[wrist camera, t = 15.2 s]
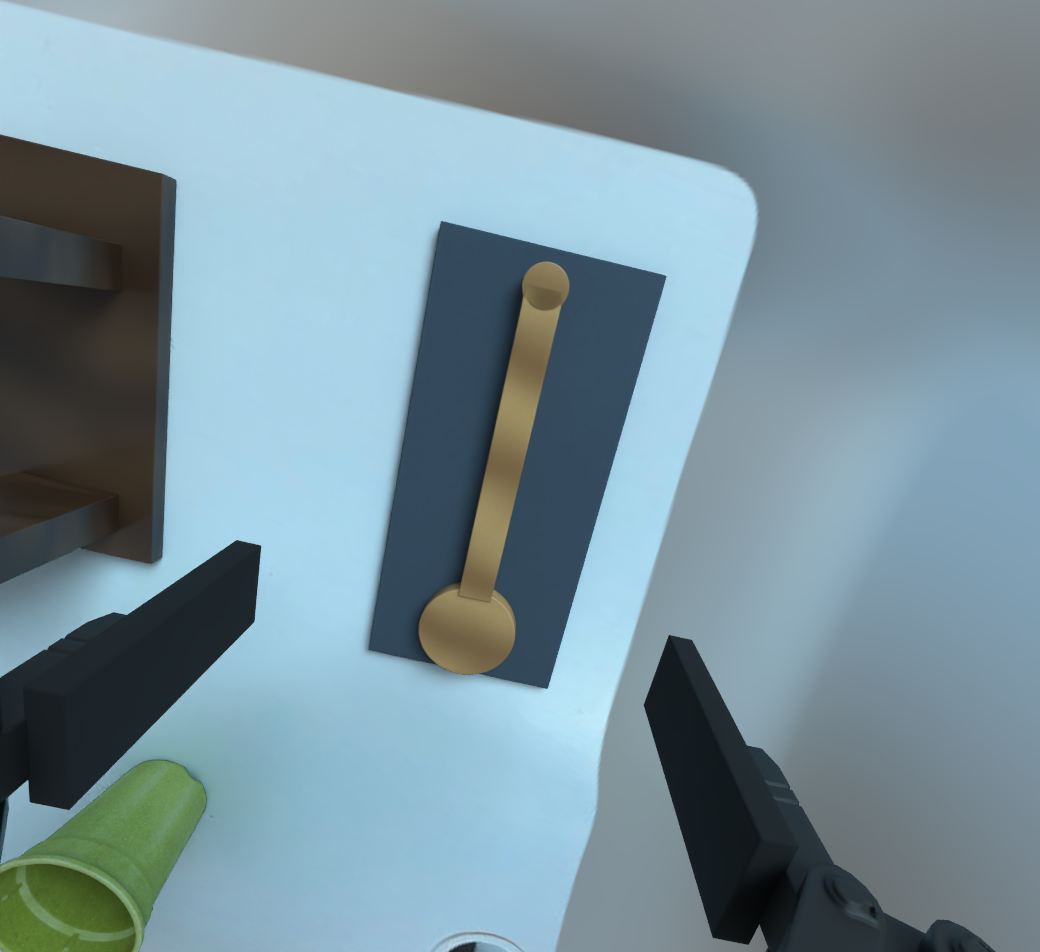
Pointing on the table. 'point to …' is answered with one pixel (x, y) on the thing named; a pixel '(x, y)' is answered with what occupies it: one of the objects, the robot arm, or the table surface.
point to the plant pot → (101, 866)
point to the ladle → (497, 496)
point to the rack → (82, 355)
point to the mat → (470, 426)
